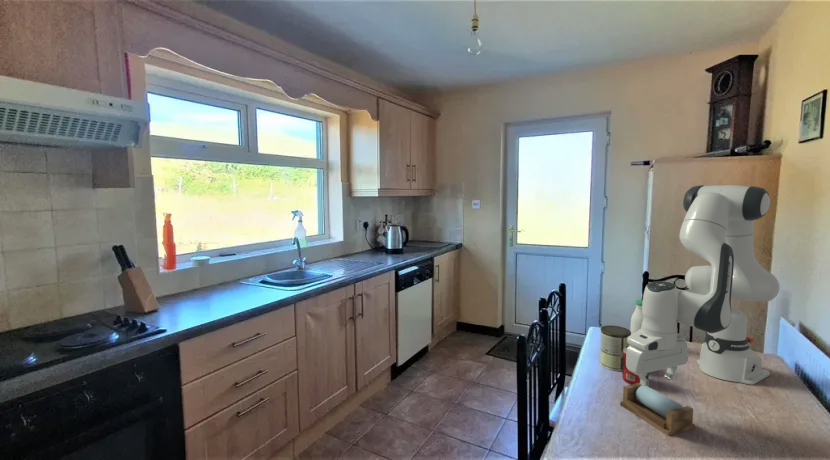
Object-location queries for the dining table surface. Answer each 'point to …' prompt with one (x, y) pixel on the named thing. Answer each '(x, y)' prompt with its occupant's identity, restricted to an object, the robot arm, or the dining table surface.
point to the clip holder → (670, 425)
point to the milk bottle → (637, 317)
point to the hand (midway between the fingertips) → (656, 382)
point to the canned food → (628, 375)
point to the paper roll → (656, 400)
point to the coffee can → (613, 346)
